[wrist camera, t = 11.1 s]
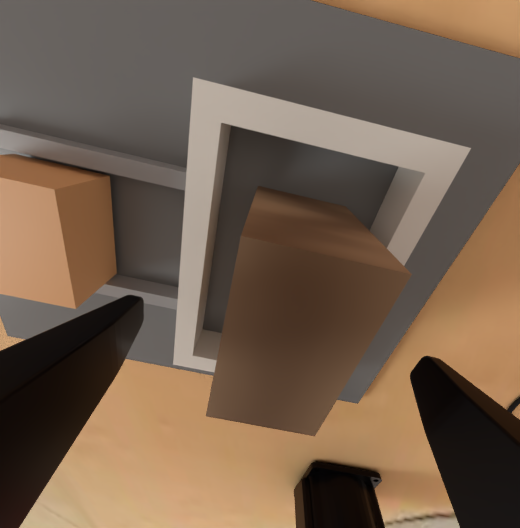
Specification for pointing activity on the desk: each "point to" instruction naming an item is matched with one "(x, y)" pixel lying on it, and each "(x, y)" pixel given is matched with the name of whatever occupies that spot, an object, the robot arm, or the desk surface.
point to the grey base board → (252, 145)
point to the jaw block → (299, 311)
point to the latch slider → (54, 231)
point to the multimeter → (514, 405)
